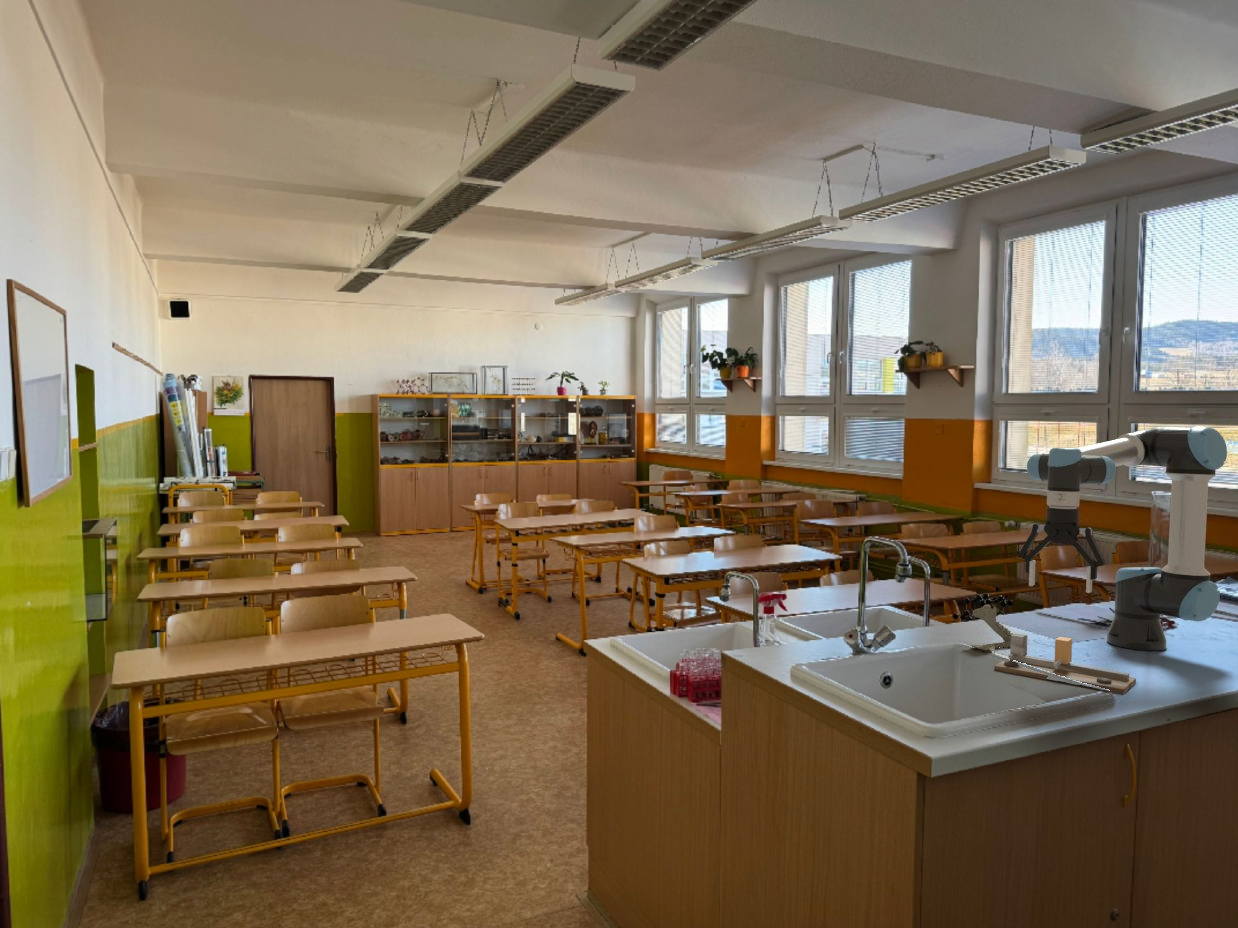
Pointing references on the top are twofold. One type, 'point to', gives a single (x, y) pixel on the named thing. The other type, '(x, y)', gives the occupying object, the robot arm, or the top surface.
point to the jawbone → (993, 627)
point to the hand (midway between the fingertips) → (1059, 588)
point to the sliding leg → (1062, 651)
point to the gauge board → (1062, 669)
